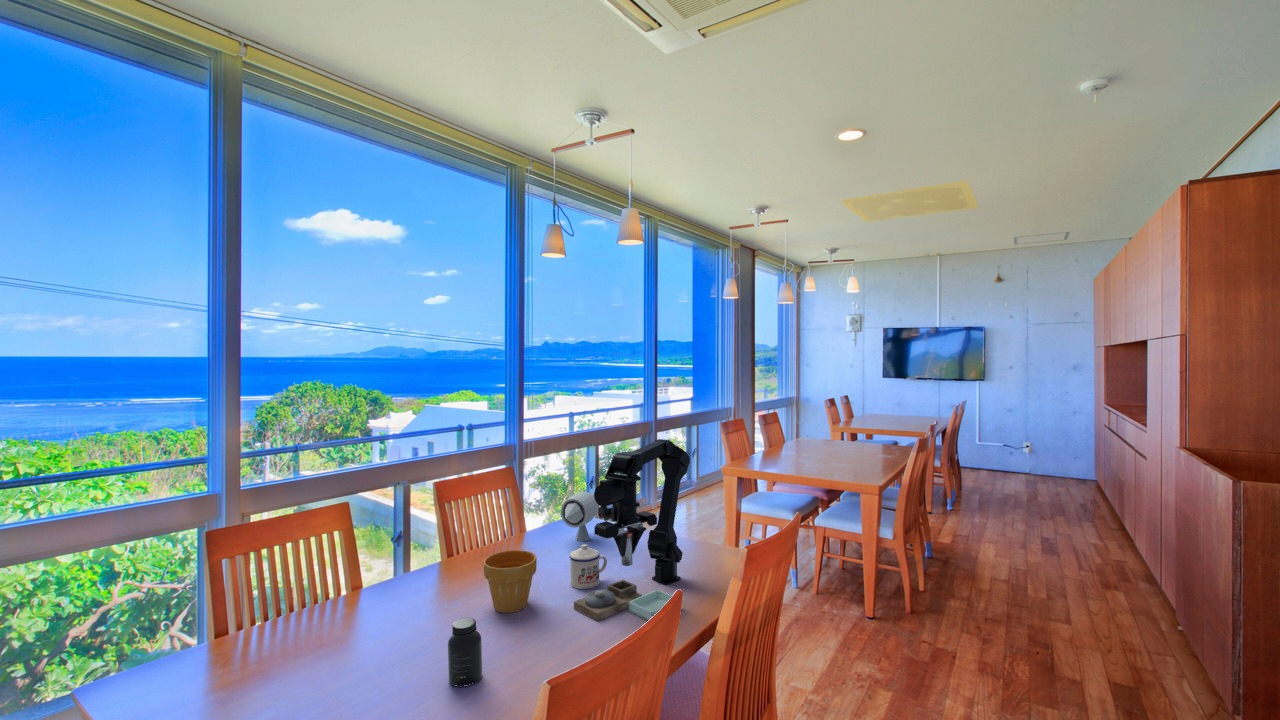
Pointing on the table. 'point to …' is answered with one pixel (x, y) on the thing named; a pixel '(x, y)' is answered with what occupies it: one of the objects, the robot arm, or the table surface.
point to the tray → (648, 604)
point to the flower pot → (510, 578)
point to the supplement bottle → (464, 653)
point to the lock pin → (628, 550)
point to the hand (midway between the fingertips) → (627, 554)
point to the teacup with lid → (585, 567)
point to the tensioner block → (607, 600)
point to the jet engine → (579, 513)
